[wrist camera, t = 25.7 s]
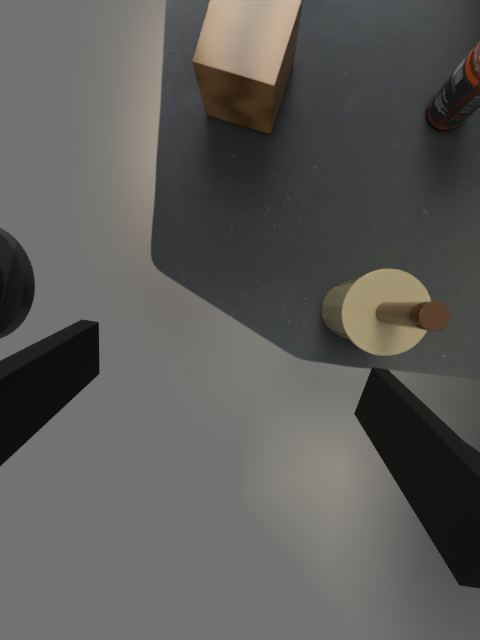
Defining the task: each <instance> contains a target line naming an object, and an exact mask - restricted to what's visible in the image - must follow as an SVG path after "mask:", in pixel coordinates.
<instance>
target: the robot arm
mask: <svg viewBox="0 0 480 640" xmlns="http://www.w3.org/2000/svg"><path fill="white" fill-rule="evenodd" d="M2 291H3V278H2V273H1V269H0V299H1V296H2ZM98 374H99V323H98V322H94V321H88V320H80V321H78V322H76V323H74V324H72V325H70V326H68V327H67V328H64V329H62V330H60V331H58V332H57V333H55V334H53V335H51V336H49V337H47V338H45V339H43V340H41V341H39V342H37V343H35V344H33V345H31V346H29V347H27V348H25V349H23V350H21V351H19V352H17V353H15V354H13V355H11V356H9V357H7V358H5V359H3V360H1V361H0V466H1V465H2V464H3V463H4V462H5V461H6V460H8V459H9V458H10V456H12V455H13V454H14V453H15V452H16V451H17V450H18V449H19V448H20V447H21V446H22V445H24V444H25V443H26V442H27V441H28V440H29V439H30V438H31V437H32V436H33V435H34V434H35V433H36V432H37V431H39V429H40V428H42V426H44V425H45V424H46V423H47V422H48V421H49V420H50V419H51V418H52V417H54V416H55V415H56V414H57V413H58V412H59V411H60V410H61V409H62V408H63V407H64V406H65V405H66V404H67V403H68V402H70V400H72V399H73V398H74V397H75V396H76V395H77V394H78V393H79V392H80V391H81V390H82V389H83V388H85V387H86V386H87V385H88V384H89V383H90V382H91V381H92V380H93V379H94V378H95V377H96V376H97V375H98ZM354 414H355V416H356V417H357V418H358V420H359V422H360V424H361V425H362V427H363V429H364V430H365V432H366V434H367V435H368V437H369V438H370V440H371V442H372V443H373V445H374V447H375V448H376V450H377V451H378V453H379V455H380V456H381V458H382V460H383V461H384V463H385V464H386V466H387V468H388V469H389V471H390V473H391V474H392V476H393V478H394V479H395V481H396V482H397V484H398V486H399V487H400V489H401V491H402V492H403V494H404V496H405V497H406V499H407V500H408V502H409V504H410V505H411V507H412V509H413V510H414V512H415V514H416V515H417V517H418V518H419V520H420V522H421V523H422V525H423V527H424V528H425V530H426V532H427V533H428V535H429V536H430V538H431V540H432V541H433V543H434V545H435V546H436V548H437V550H438V551H439V553H440V554H441V556H442V558H443V559H444V561H445V563H446V564H447V566H448V568H449V569H450V571H451V572H452V574H453V576H454V577H455V579H456V581H457V582H458V584H459V585H461V586H468V587H475V588H480V453H479V452H478V451H477V450H476V449H474V448H473V447H471V446H470V445H468V444H467V443H465V442H464V441H463V440H462V439H461V438H460V437H459V436H458V435H457V434H456V433H455V432H454V431H452V430H451V429H450V428H449V427H448V426H447V425H446V424H445V423H444V422H443V421H442V420H441V419H440V418H439V417H437V416H436V415H435V414H434V413H433V412H432V411H431V410H430V409H429V408H428V407H427V406H426V405H425V404H424V403H423V402H422V401H421V400H419V399H418V398H417V397H416V396H415V395H414V394H413V393H412V392H411V391H410V390H409V389H408V388H407V387H405V386H404V385H403V384H402V383H401V382H400V381H399V380H398V379H397V378H396V377H395V376H394V375H393V374H391V372H390V371H389V370H386V369H380V368H374V367H372V369H371V372H370V375H369V377H368V380H367V382H366V385H365V388H364V390H363V393H362V395H361V398H360V400H359V403H358V406H357V408H356V411H355V413H354Z"/></svg>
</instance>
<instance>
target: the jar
mask: <svg viewBox="0 0 480 640" xmlns="http://www.w3.org/2000/svg"><path fill="white" fill-rule="evenodd" d="M356 280H358V279H355V280H351V281H346V282H343V283H341V284H339V285H337V286H335V287H333V288H332V289H331V290H330V291H329V292H328V293H327V295H326V296H325V298H324V300H323V304H322V317H323V320H324V322H325V324H326V326H327V327H328V328H329V329H330V330H331V331H332V332H333V333H335V334H336V335H338V336H341V337H343V338H346V339H348V340H350V339H349V338H348V336H347V335H346V333H345V331H344V329H343V326H342V322H341V305H342V301H343V299H344V296H345V294H346V292H347V291H348V289H349V288H350V286H351V285H352V284H353V283H354V282H355V281H356Z"/></svg>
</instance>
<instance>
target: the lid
mask: <svg viewBox="0 0 480 640" xmlns="http://www.w3.org/2000/svg"><path fill="white" fill-rule="evenodd" d="M449 320H450V311H449V309H448V308H447V306H446V305H444V304H443V303H440V302H431V299H430V296H429V294H428V292H427V290H426V288H425V287H424V286H423V284H422V283H421V282H420V281H419V280H418V279H417V278H415V277H414V276H412V275H411V274H409V273H407V272H404V271H401V270H397V269H381V270H376V271H373V272H370V273H367V274H365V275H363V276H362V277H360V278H359V279H358V280H356V281H355V282H354V283H353V284H352V285H351V286H350V288H349V289H348V291H347V292H346V294H345V296H344V299H343V301H342V305H341V322H342V326H343V329H344V331H345V333H346V335H347V336H348V338H349V339H350V340H351V341H352V342H353V343H354V344H355V345H356V346H357V347H359V348H360V349H362V350H364V351H366V352H368V353H371V354H374V355H380V356H390V355H396V354H400V353H402V352H405V351H407V350H409V349H411V348H412V347H413V346H415V345H416V344H417V343H418V342H419V341H420V340H421V339H422V338H423V336H424V335H425V333H426V332H427V331H439V330H441V329H443V328H444V327H445V326H446V325H447V324H448V322H449Z"/></svg>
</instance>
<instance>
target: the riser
mask: <svg viewBox="0 0 480 640" xmlns="http://www.w3.org/2000/svg"><path fill="white" fill-rule="evenodd" d="M302 4H303V0H210V2H209V5H208V9H207V12H206V16H205V19H204V23H203V26H202V30H201V33H200V37H199V40H198V44H197V47H196V50H195V54H194V57H193V61H192V63H193V66H194V70H195V74H196V78H197V81H198V85H199V89H200V93H201V97H202V100H203V104H204V108H205V112H206V115H208V116H211V117H214V118H218V119H221V120H224V121H228V122H231V123H234V124H237V125H241V126H244V127H247V128H251V129H254V130H257V131H260V132H264V133H267V134H271V132H272V128H273V125H274V122H275V119H276V116H277V113H278V110H279V107H280V104H281V101H282V97H283V94H284V91H285V88H286V85H287V82H288V79H289V76H290V73H291V70H292V66H293V62H294V56H295V49H296V43H297V36H298V30H299V23H300V17H301V11H302Z"/></svg>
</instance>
